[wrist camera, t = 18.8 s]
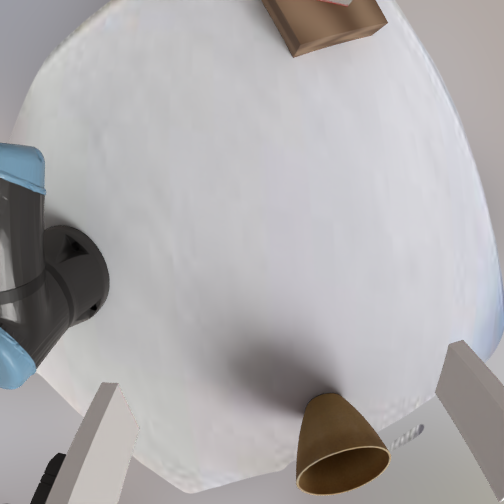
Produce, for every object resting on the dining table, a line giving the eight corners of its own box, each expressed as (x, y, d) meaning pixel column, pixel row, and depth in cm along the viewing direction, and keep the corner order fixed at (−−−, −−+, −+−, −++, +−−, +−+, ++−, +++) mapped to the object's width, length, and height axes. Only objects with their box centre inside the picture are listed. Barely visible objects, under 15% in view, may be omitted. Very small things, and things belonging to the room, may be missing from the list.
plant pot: (316, 439, 56) (330, 502, 41) (269, 408, 52) (275, 480, 37) (378, 401, 53) (405, 463, 38) (337, 363, 49) (364, 435, 34)
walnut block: (292, 58, 35) (300, 44, 29) (253, -11, 31) (255, -32, 25) (370, 36, 33) (388, 22, 28) (331, -30, 30) (342, -50, 24)
